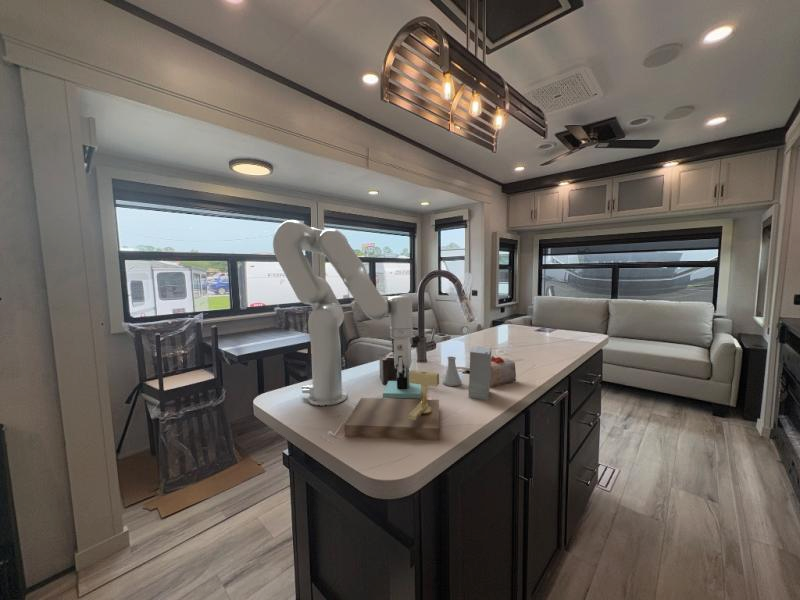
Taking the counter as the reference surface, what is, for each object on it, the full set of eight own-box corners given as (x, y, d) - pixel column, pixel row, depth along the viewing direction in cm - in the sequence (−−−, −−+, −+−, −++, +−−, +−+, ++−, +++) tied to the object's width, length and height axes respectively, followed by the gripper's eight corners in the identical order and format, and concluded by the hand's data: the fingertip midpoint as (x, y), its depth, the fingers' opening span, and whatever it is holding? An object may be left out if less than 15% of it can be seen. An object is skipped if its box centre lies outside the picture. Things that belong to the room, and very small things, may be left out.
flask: (461, 387, 113) (461, 360, 113) (441, 386, 115) (441, 359, 114) (461, 380, 120) (461, 355, 120) (442, 380, 122) (442, 354, 121)
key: (427, 428, 76) (426, 385, 75) (397, 422, 79) (396, 381, 78) (440, 410, 86) (440, 372, 85) (413, 406, 89) (412, 369, 88)
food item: (490, 389, 111) (490, 362, 110) (475, 382, 118) (475, 357, 117) (518, 382, 117) (518, 357, 116) (502, 377, 124) (502, 352, 123)
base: (344, 436, 79) (344, 424, 79) (361, 407, 97) (361, 397, 97) (439, 440, 76) (439, 428, 76) (438, 409, 94) (438, 399, 94)
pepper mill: (383, 385, 117) (382, 338, 116) (379, 376, 128) (378, 333, 126) (423, 381, 120) (422, 335, 119) (415, 373, 131) (415, 331, 130)
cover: (382, 397, 99) (382, 377, 99) (388, 385, 111) (388, 367, 111) (420, 398, 98) (420, 378, 97) (422, 385, 110) (421, 367, 109)
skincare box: (471, 389, 111) (471, 345, 110) (492, 391, 108) (492, 346, 107) (467, 398, 103) (467, 350, 102) (490, 400, 100) (490, 352, 99)
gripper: (410, 337, 95) (412, 396, 96) (414, 328, 111) (415, 379, 112) (386, 337, 95) (388, 395, 97) (393, 328, 112) (395, 379, 113)
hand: (403, 386), depth 104 cm, fingers closed on cover, 3 cm apart
